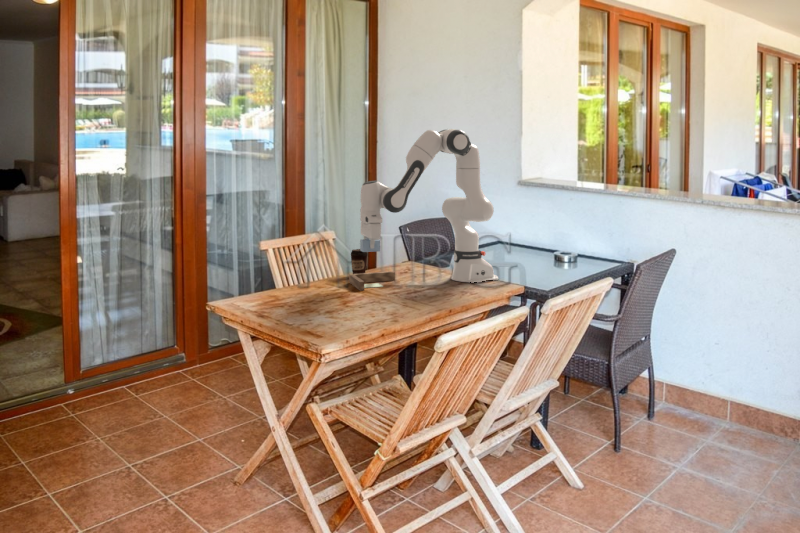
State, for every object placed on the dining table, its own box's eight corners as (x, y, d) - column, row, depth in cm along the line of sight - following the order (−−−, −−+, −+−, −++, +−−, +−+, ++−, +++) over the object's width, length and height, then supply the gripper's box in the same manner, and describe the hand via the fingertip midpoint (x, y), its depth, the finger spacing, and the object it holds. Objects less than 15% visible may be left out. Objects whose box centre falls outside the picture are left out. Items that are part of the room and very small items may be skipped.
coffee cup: (365, 278, 362) (365, 251, 359) (348, 277, 364) (348, 250, 361) (369, 274, 370) (369, 248, 368) (353, 273, 372) (353, 248, 369)
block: (360, 250, 343) (360, 239, 342) (377, 249, 345) (377, 239, 344) (362, 251, 338) (362, 240, 338) (380, 251, 341) (380, 240, 340)
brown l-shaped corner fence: (393, 279, 359) (393, 271, 358) (406, 287, 343) (406, 278, 342) (348, 282, 352) (348, 274, 351) (359, 290, 335) (359, 281, 335)
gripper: (357, 214, 348) (357, 244, 350) (369, 219, 329) (369, 250, 331) (370, 214, 350) (370, 243, 352) (383, 219, 331) (383, 250, 333)
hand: (370, 247), depth 341 cm, fingers closed on block, 4 cm apart
